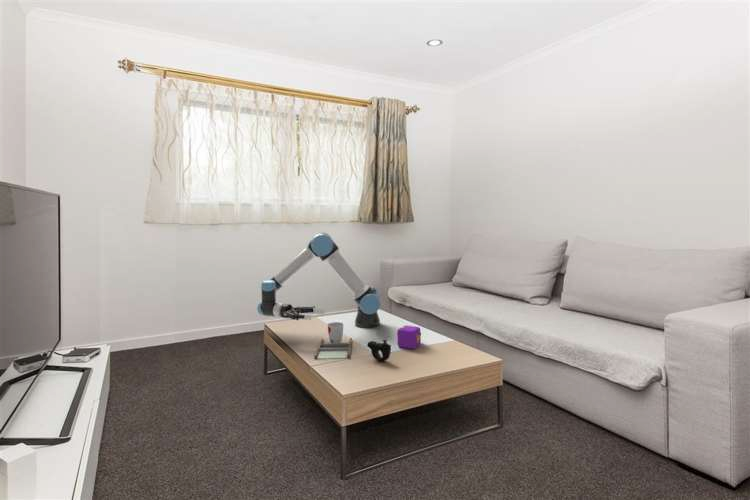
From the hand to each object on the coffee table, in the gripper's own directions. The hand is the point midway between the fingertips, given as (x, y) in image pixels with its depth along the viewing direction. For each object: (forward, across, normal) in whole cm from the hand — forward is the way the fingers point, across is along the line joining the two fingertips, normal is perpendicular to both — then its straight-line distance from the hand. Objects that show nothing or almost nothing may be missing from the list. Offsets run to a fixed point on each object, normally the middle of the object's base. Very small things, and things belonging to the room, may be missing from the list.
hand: (317, 314), depth 218 cm
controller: (+41, +14, -14) cm, 46 cm away
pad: (+17, +15, -15) cm, 27 cm away
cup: (+10, -1, -15) cm, 18 cm away
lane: (+14, +7, -15) cm, 21 cm away
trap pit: (+14, +7, -15) cm, 21 cm away
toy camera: (+47, -11, -14) cm, 51 cm away
